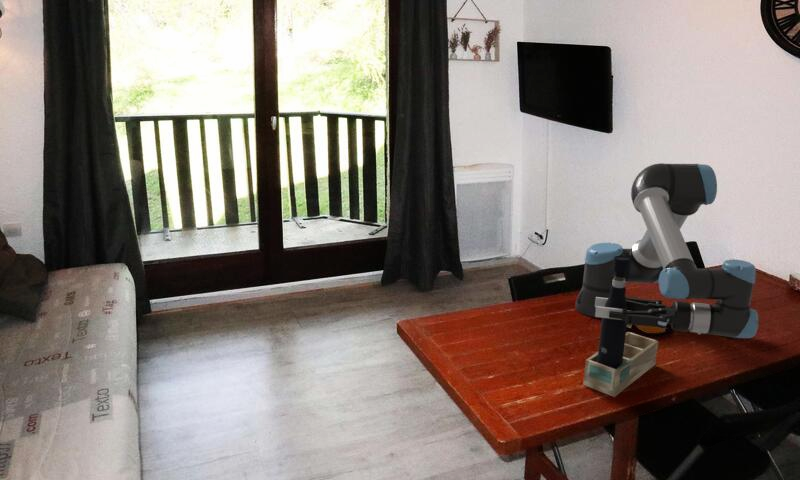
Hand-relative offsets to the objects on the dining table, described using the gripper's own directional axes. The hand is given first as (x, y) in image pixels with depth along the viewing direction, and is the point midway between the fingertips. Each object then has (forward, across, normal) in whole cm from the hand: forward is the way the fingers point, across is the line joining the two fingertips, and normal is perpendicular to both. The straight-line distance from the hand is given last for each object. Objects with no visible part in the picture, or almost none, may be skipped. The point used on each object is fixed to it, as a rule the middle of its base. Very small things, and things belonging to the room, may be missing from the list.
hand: (595, 306), depth 176 cm
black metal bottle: (-5, 0, -16) cm, 17 cm away
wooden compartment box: (-9, +8, -22) cm, 25 cm away
